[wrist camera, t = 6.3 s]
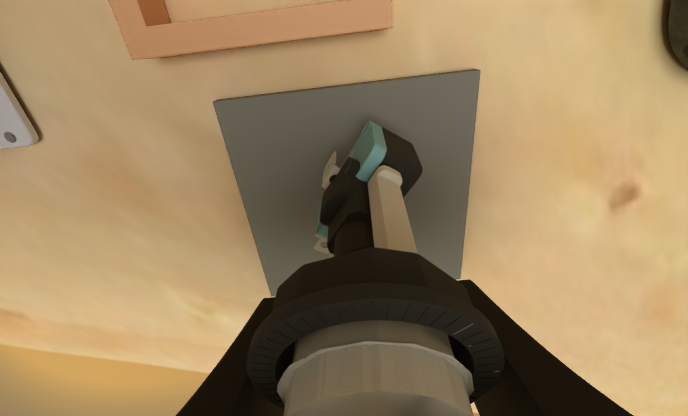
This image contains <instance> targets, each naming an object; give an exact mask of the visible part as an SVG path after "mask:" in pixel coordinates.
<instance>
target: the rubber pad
mask: <svg viewBox="0 0 688 416" xmlns="http://www.w3.org/2000/svg"><path fill="white" fill-rule="evenodd" d="M479 80H480V70H477V69H471V70H463V71H455V72H446V73H438V74H429V75H421V76H413V77H404V78H396V79H387V80H379V81H371V82H362V83H354V84H346V85H337V86H329V87H320V88H312V89H304V90H295V91H287V92H278V93H270V94H262V95H253V96H245V97H236V98H228V99H220V100H216V101H214V102H213V105H214V108H215V111H216V114H217V118H218V121H219V124H220V128H221V131H222V134H223V138H224V141H225V144H226V148H227V151H228V154H229V157H230V161H231V164H232V167H233V171H234V174H235V177H236V181H237V184H238V187H239V191H240V194H241V197H242V200H243V204H244V207H245V210H246V214H247V217H248V220H249V224H250V227H251V230H252V233H253V237H254V240H255V243H256V247H257V250H258V253H259V257H260V260H261V263H262V267H263V270H264V273H265V276H266V280H267V283H268V286H269V290H270V293H271V296H276V293H277V289H278V287H279V286H280V285H281V284H282V283H283V282H284V281H285V280H286V279H288V278H289V277H290V276H291V275H292V274H293V273H294V272H295V271H296V270H298V269H299V268H300V267H301V266H303V265H304V264H307V263H311V262H315V261H319V260H323V259H327V258H329V253H327V254H325V253H323V252H320V251H317V250H315V249H314V245H315V244H316V242H317V241H318V239H319V238H318V237H316V236H315V234H316V227H317V223H318V215H319V207H320V202H321V200H322V197H323V194H324V192H325V190H326V189H325V188H323V187H322V184H323V183H322V180H323V172H324V169H325V166H326V164H327V163H328V161H329V159H330V157H331V156H332V154H333V152H334V151H336V163H335V165H336V166H337V167H339V168H341V166H342V164H343V163H344V161H345V159H346V158H347V156H348V154H349V153H350V151H351V150H352V148H353V146H354V145H355V143H356V141H357V140H358V138H359V136H360V135H361V131H362V130H363V128H364V126H365V125H366V123H367V122H368V121H369V120H370V121H372V122H373V123H375V124H377V125H379V126H381V127H383V128H385V129H387V130H389V131H390V132H392V133H394V134H396V135H398V136H399V137H401V138H403V139H405V140H407V141H409V142H410V143H412V144H413V146H414V149H415V151H416V153H417V156H418V158H419V160H420V163H421V165H422V168H423V171H422V174H421V176H420V178H419V179H418V180H417V182H416V183H415V184H414V185H413V187H412V188H411V189H410V190H409V192H408V193H407V194H406V195H405V197H404V198H403V200H404V204H405V207H406V211H407V215H408V219H409V222H410V226H411V230H412V234H413V237H414V241H415V245H416V248H417V252H418V254H419V255H421V256H423V257H424V258H425V259H427V260H428V261H430V262H431V263H432V264H434V265H435V266H437V267H438V268H440V269H441V270H442V271H444V272H445V273H447V274H448V275H449V276H451V277H452V278H454V279H460V277H461V267H462V256H463V246H464V235H465V225H466V215H467V204H468V194H469V183H470V173H471V163H472V152H473V142H474V132H475V121H476V111H477V100H478V90H479ZM330 164H331V163H330ZM329 166H330V165H329ZM321 246H323V247H327V242H322V243H321Z"/></svg>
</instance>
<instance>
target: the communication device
mask: <svg viewBox="0 0 688 416" xmlns="http://www.w3.org/2000/svg"><path fill="white" fill-rule="evenodd" d="M669 37H670V43H671V46H672V49H673V51H674V53H675V55H676V57H677V58H678V60H679V61H680V62H681V63H682V64H683V65H684V66H685V67H686V68H687V69H688V0H671V5H670V12H669Z"/></svg>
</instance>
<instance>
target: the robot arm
mask: <svg viewBox="0 0 688 416" xmlns="http://www.w3.org/2000/svg"><path fill="white" fill-rule="evenodd" d="M12 134H14V136H15V137H16V139H15V138H14V137H13V135H12ZM37 141H38V135H37V133H36V131H35V129H34V128H33V126H32V124H31V123H30V121H29V119H28V118H27V116H26V114H25V112H24V111H23V109H22V107H21V106H20V104H19V102H18V101H17V99H16V97H15V96H14V94H13V92H12V91H11V89H10V87H9V86H8V84H7V82H6V81H5V79H4V77H3V76H2V74H1V72H0V149H7V148H15V147H24V146H29V145H32V144H35V143H37ZM458 282H459V283H461V284H462V285H463V286H464V287H465V288H466V290H467V292H468V295H469V297H470V300H471V302H472V305H473V307H475V308H476V309H478V310H479V311H480V312H481V313H482V314H483V315H484V316H485V317H486V318H487V319H488V320H489V321H490V323H491V324H492V326H493V328H494V330H495V332H496V334H497V336H498V339H499V341H500V343H501V346H502V348H503V352H504V357H505V363H504V369H503V371H502V374H501V376H500V378H499V379H498V381H497V382H496V384H495V385H494V386H493V387H492V388H491V389H490V390H489V391H488V392H487V393H486V394H484V395H483V396H482V397H480V398H479V399H478V400H476V401H474V403H475V405H476V407H477V410H478V412H479V415H480V416H633V415H632V414H630V413H629V412H627V411H626V410H625V409H623V408H622V407H620V406H619V405H617V404H616V403H615V402H613V401H612V400H611V399H609V398H608V397H606V396H605V395H604V394H602V393H601V392H600V391H598V390H597V389H596V388H594V387H593V386H591V385H590V384H589V383H588V382H586V381H585V380H584V379H582V378H581V377H580V376H578V375H577V374H576V373H575V372H573V371H572V370H571V369H570V368H568V367H567V366H566V365H565V364H563V363H562V362H561V361H560V360H558V359H557V358H556V357H555V356H554V355H552V354H551V353H550V352H549V351H548V350H546V349H545V348H544V347H543V346H542V345H540V344H539V343H538V342H537V341H536V340H535V339H534V338H532V337H531V336H530V335H529V334H528V333H527V332H526V331H525V330H523V329H522V328H521V327H520V326H519V325H518V324H517V323H516V322H514V321H513V320H512V319H511V318H510V317H509V316H508V315H507V314H506V313H505V312H504V311H503V310H502V309H500V308H499V307H498V306H497V305H496V304H495V303H494V302H493V301H492V300H491V299H490V298H489V297H488V296H487V295H486V294H485V293H484V292H483V291H482V290H481V289H480V288H479V287H478V286H477V285H476V284H475V283H473V282H472V281H471V280H460V281H458ZM274 302H275V297H273V298H264V299H263V300H262V301H261V302H260V304H259V305H258V307H257V308H256V310H255V311H254V313H253V314H252V316H251V317H250V319H249V320H248V322H247V323H246V325H245V326H244V328H243V329H242V331H241V332H240V334H239V335H238V336H237V338H236V339H235V341H234V342H233V343H232V345H231V346H230V348H229V349H228V350H227V352H226V353H225V355H224V356H223V357H222V359H221V360H220V361H219V363H218V364H217V365H216V367H215V368H214V369H213V371H212V372H211V373H210V374H209V376H208V377H207V378H206V380H205V381H204V382H203V383H202V385H201V386H200V387H199V388H198V390H197V391H196V392H195V394H194V395H193V396H192V397H191V398H190V400H189V401H188V402H187V403H186V404H185V406H184V407H183V408H182V409H181V410H180V411H179V413H178V414H177V415H176V416H283V414H284V409H282V408H280V407H278V406H276V405H274V404H273V403H271V402H270V401H268V400H267V399H266V398H264V397H263V396H262V395H261V394H260V393H259V392H258V391H257V390H256V389H255V388H254V386H253V385H252V383H251V382H250V380H249V378H248V374H247V370H246V361H247V356H248V352H249V348H250V345H251V341H252V338H253V336H254V333H255V332H256V330H257V328H258V327H259V325H260V324H261V323H262V322H263V321H264V320H265V319H266V318H267V317H268V316H269V315H270V314H271V313H272V310H273V306H274Z"/></svg>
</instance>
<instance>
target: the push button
mask: <svg viewBox="0 0 688 416" xmlns="http://www.w3.org/2000/svg"><path fill="white" fill-rule="evenodd" d="M330 163H331V164H330ZM335 163H336V151H334V152H333V154H332V156H331V157H330V159H329V161H328V163H327V164H326V166H325V169H324V172H323V180H322V183H323V184H322V187H323V188H325V189H326V190H325V192H324V194H323V197H322V200H321V202H320V207H319V215H318V223H317V227H316V234H315V236H316V237H318V238H319V239H318V241H317V242H316V244H315V245H314V249H315V250H317V251H320V252H323V253H325V254H327V253H329V258H327V259H323V260H319V261H315V262H311V263H307V264H304V265H303V266H301V267H300V268H299V269H298V270H296V271H295V272H294V273H293V274H292V275H291V276H290V277H289V278H288V279H286V280H285V281H284V282H283V283H282V284H281V285H280V286H279V287H278V289H277V293H276V297H275V302H274V306H273V310H272V313H271V314H270V315H269V316H268V317H267V318H266V319H265V320H264V321H263V322H262V323H261V324H260V325H259V327H258V328H257V330H256V332H255V333H254V336H253V338H252V341H251V345H250V348H249V352H248V356H247V361H246V370H247V374H248V378H249V380H250V382H251V383H252V385H253V386H254V388H255V389H256V390H257V391H258V392H259V393H260V394H261V395H262V396H263V397H264V398H266V399H267V400H268V401H270V402H271V403H273V404H274V405H276V406H278V407H280V408H282V409H284V414H283V416H474V415H473V412H472V408H471V405H470V404H471V403H473V402H474V401H476V400H478V399H479V398H480V397H482V396H483V395H484V394H486V393H487V392H488V391H489V390H490V389H491V388H492V387H493V386H494V385H495V384H496V382H497V381H498V379H499V378H500V376H501V374H502V371H503V369H504V363H505V357H504V352H503V348H502V346H501V343H500V341H499V339H498V336H497V334H496V332H495V330H494V328H493V326H492V324H491V323H490V321H489V320H488V319H487V318H486V317H485V316H484V315H483V314H482V313H481V312H480V311H479V310H478V309H476V308H475V307H473V305H472V302H471V300H470V297H469V295H468V292H467V290H466V288H465V287H464V286H463V285H462V284H461V283H459V282H458V281H457V280H455V279H454V278H452V277H451V276H449V275H448V274H447V273H445V272H444V271H442V270H441V269H440V268H438V267H437V266H435V265H434V264H432V263H431V262H430V261H428V260H427V259H425V258H424V257H423V256H421V255H419V254H418V252H417V248H416V245H415V241H414V237H413V234H412V230H411V226H410V222H409V219H408V215H407V211H406V207H405V204H404V200H403V198H404V197H405V195H406V194H407V193H408V192H409V190H410V189H411V188H412V187H413V185H414V184H415V183H416V182H417V180H418V179H419V178H420V176H421V174H422V171H423V168H422V165H421V163H420V160H419V158H418V156H417V153H416V151H415V149H414V146H413V144H412V143H410V142H409V141H407V140H405V139H403V138H401V137H399V136H398V135H396V134H394V133H392V132H390V131H389V130H387V129H385V128H383V127H381V126H379V125H377V124H375V123H373V122H372V121H370V120H369V121H368V122H367V123H366V125H365V126H364V128H363V130H362V131H361V135H360V136H359V138H358V140H357V141H356V143H355V145H354V146H353V148H352V150H351V151H350V153H349V154H348V156H347V158H346V159H345V161H344V163H343V164H342V166H341V168H339V167H337V166H336V165H335ZM329 165H330V166H329ZM322 242H327V247H323V246H321V243H322Z"/></svg>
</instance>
